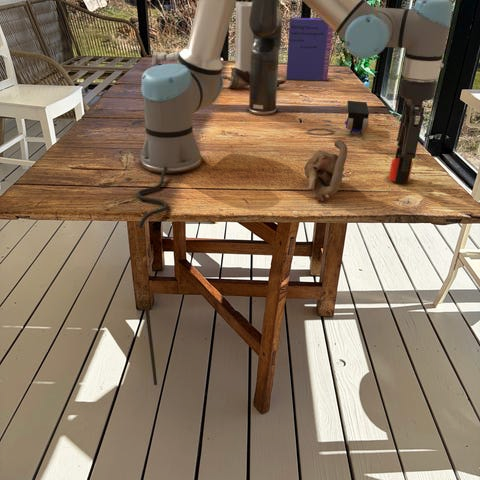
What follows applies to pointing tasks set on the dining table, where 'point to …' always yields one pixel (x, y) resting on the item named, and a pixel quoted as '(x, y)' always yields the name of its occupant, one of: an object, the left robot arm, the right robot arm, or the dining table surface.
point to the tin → (394, 169)
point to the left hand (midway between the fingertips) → (399, 177)
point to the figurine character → (357, 116)
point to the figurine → (242, 79)
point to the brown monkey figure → (326, 171)
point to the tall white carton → (243, 36)
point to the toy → (164, 57)
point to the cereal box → (308, 49)
